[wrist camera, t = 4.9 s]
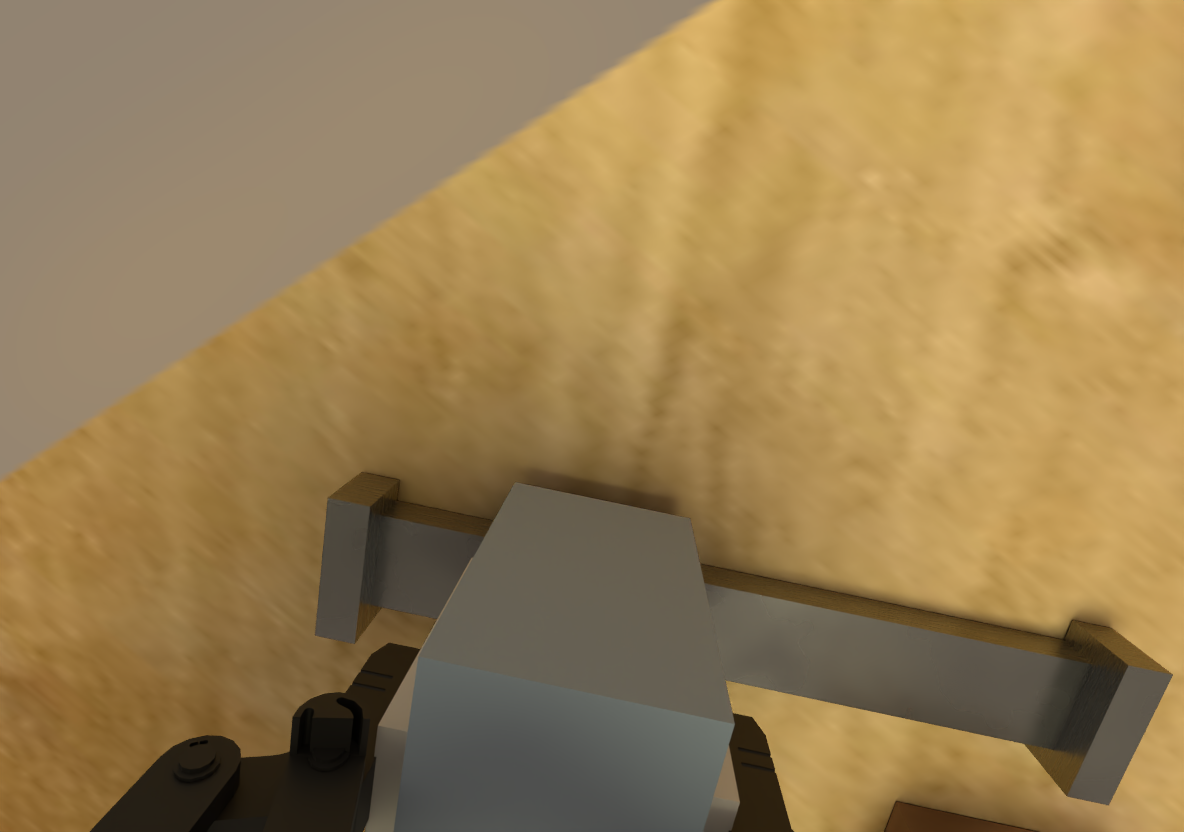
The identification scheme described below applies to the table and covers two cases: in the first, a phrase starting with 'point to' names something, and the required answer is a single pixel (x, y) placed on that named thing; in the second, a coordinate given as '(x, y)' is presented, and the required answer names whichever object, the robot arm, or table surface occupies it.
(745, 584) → the rail
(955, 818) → the wooden box
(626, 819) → the carriage
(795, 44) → the table surface
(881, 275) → the table surface
